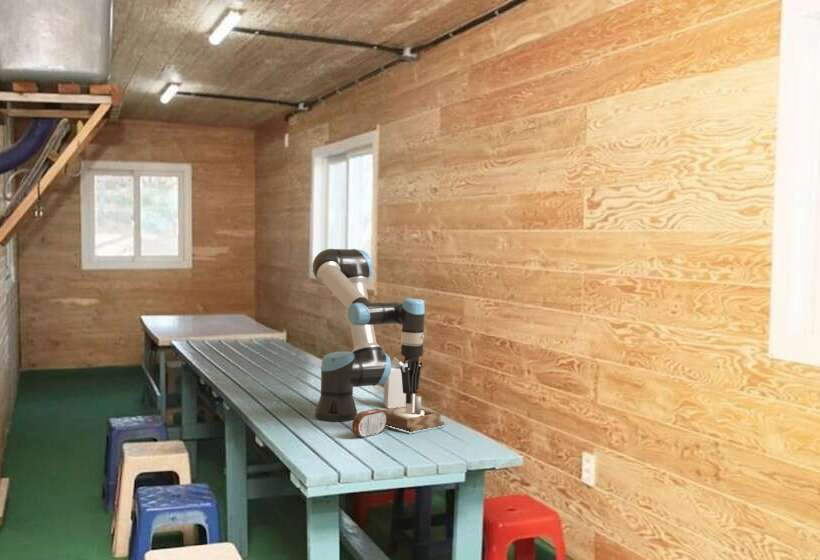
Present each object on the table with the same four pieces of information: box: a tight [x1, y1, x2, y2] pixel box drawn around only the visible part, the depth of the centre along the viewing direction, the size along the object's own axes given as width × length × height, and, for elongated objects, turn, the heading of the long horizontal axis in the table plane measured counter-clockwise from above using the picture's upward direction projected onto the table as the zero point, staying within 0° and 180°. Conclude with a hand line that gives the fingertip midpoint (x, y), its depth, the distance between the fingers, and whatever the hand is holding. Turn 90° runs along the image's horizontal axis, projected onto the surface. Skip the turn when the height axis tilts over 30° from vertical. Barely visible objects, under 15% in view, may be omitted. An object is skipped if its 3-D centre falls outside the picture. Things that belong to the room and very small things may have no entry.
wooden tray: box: [381, 405, 445, 432], centre depth 270 cm, size 16×20×5 cm
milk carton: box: [383, 356, 406, 409], centre depth 298 cm, size 7×7×19 cm
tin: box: [351, 408, 387, 438], centre depth 254 cm, size 15×3×8 cm, turn 141°
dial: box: [393, 395, 424, 418], centre depth 270 cm, size 11×11×8 cm
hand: (409, 412), depth 262 cm, fingers closed
